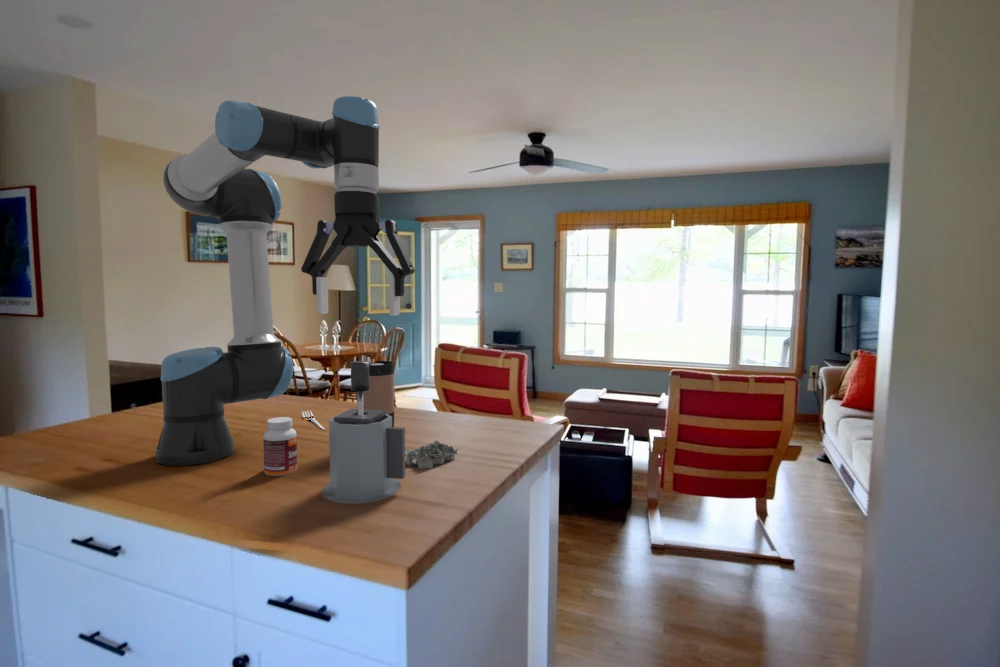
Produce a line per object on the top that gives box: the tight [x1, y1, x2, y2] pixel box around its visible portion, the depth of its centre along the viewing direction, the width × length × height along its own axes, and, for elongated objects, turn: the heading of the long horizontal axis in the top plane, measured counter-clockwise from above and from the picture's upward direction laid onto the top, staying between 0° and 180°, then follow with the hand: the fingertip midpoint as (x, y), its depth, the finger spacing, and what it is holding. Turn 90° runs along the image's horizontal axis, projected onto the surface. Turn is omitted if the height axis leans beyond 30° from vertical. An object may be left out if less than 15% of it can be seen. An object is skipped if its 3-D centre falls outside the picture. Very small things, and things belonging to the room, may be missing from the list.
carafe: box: [328, 408, 406, 500], centre depth 98 cm, size 13×10×14 cm
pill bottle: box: [262, 416, 298, 476], centre depth 108 cm, size 6×6×11 cm
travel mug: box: [363, 360, 395, 427], centre depth 125 cm, size 8×8×20 cm
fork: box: [301, 409, 325, 430], centre depth 149 cm, size 3×20×2 cm, turn 33°
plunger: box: [350, 360, 370, 425], centre depth 98 cm, size 8×8×21 cm
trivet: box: [321, 478, 402, 505], centre depth 99 cm, size 14×14×1 cm
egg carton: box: [405, 440, 459, 469], centre depth 115 cm, size 11×8×4 cm
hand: (358, 314), depth 97 cm, fingers open, 13 cm apart
